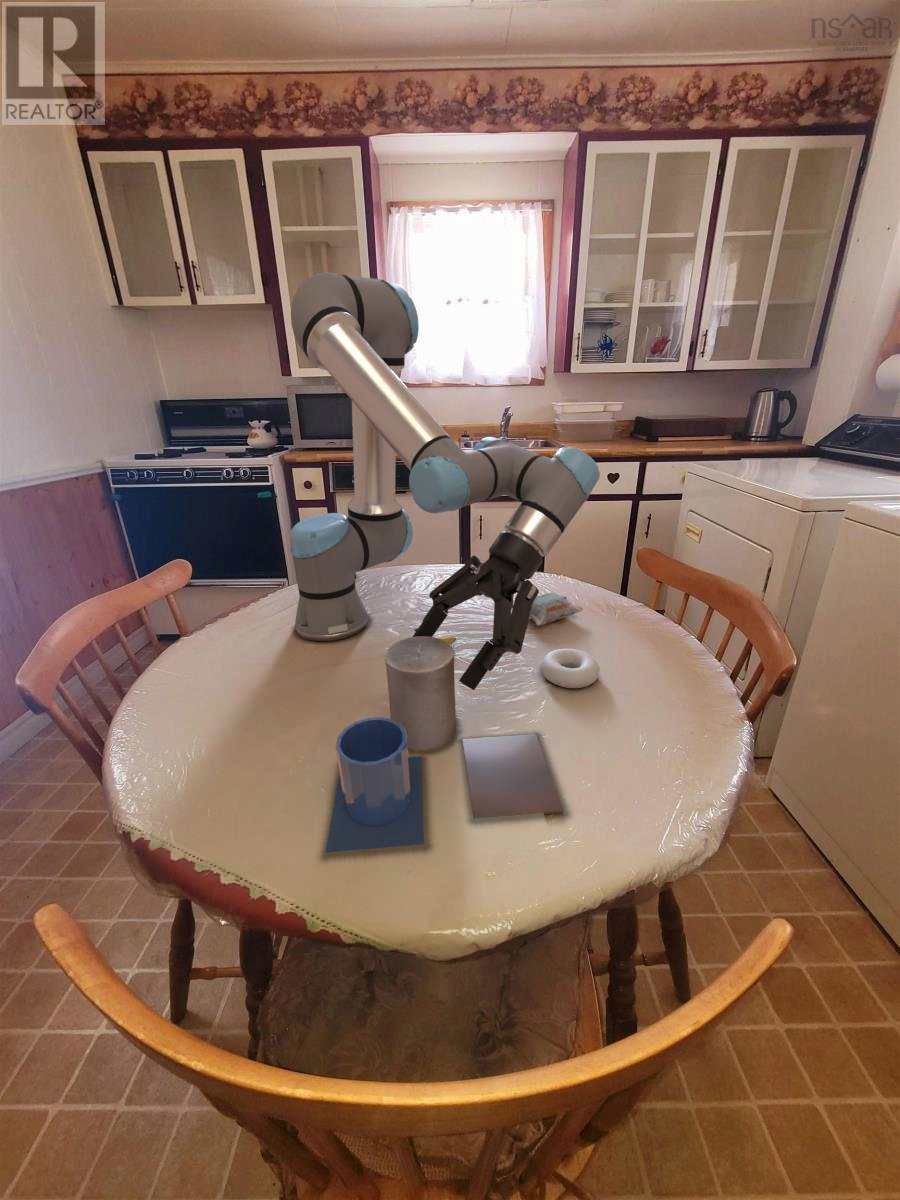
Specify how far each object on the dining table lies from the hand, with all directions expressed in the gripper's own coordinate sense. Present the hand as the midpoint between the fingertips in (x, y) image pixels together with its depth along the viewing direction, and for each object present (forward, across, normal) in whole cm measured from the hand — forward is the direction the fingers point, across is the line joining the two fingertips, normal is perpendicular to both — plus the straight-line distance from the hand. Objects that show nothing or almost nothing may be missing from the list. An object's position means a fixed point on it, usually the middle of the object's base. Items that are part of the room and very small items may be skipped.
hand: (439, 663), depth 70 cm
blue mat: (+18, -8, +3) cm, 20 cm away
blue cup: (+18, -8, +3) cm, 20 cm away
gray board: (+6, -14, -9) cm, 18 cm away
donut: (-10, -2, -26) cm, 28 cm away
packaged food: (-19, +17, -34) cm, 43 cm away
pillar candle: (+10, 0, -6) cm, 11 cm away
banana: (0, +21, -16) cm, 26 cm away
